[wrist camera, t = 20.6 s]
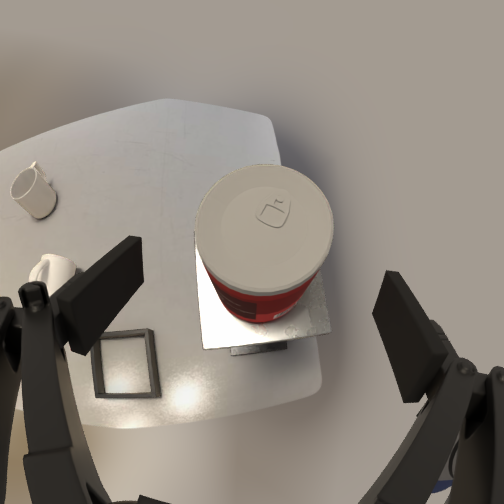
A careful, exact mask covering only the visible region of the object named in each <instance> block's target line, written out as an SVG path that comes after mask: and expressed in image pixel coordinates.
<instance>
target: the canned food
mask: <svg viewBox="0 0 504 504" xmlns="http://www.w3.org/2000/svg"><path fill="white" fill-rule="evenodd" d="M333 231H334V223H333V215H332V211H331V208H330V205H329V203H328V201H327V199H326V197H325V196H324V194H323V192H322V191H321V190H320V189H319V188H318V186H317V185H316V184H315V183H314V182H312V181H311V180H310V179H309V178H308V177H306V176H305V175H303V174H301V173H299V172H297V171H296V170H293V169H290V168H287V167H284V166H279V165H273V164H258V165H252V166H246V167H243V168H241V169H238V170H235V171H233V172H231V173H229V174H228V175H226V176H224V177H223V178H221V179H220V180H219V181H218V182H217V183H215V184H214V185H213V186H212V187H211V189H210V190H209V191H208V192H207V193H206V195H205V197H204V198H203V200H202V202H201V204H200V206H199V209H198V212H197V215H196V220H195V238H196V246H197V249H198V252H199V255H200V258H201V261H202V263H203V266H204V268H205V270H206V272H207V274H208V277H209V279H210V281H211V283H212V285H213V287H214V289H215V291H216V293H217V295H218V297H219V299H220V301H221V302H222V304H223V306H224V307H225V308H226V309H227V310H228V311H229V312H230V313H232V314H233V315H235V316H236V317H238V318H240V319H243V320H245V321H250V322H267V321H272V320H275V319H277V318H279V317H281V316H283V315H284V314H286V313H287V312H289V311H290V310H291V309H292V308H293V307H294V306H295V304H296V303H297V302H298V300H299V299H300V298H301V296H302V295H303V293H304V292H305V290H306V289H307V288H308V286H309V285H310V283H311V282H312V280H313V279H314V278H315V276H316V275H317V273H318V271H319V270H320V268H321V266H322V264H323V263H324V261H325V259H326V257H327V255H328V253H329V249H330V246H331V243H332V240H333Z"/></svg>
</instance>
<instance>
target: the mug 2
mask: <svg viewBox="0 0 504 504" xmlns="http://www.w3.org/2000/svg"><path fill="white" fill-rule="evenodd" d="M75 270H76V264H75V263H74V262H73V261H71V260H70V259H67V258H65V257H62V256H58V255H53V254H45V255H43V256H42V258H41V262H39V263H38V264H37V265H36V266H35V267H34V268H33V269H32V271H31V273H30V276H29V282H32V281H42V282H44V283H45V284H46V286H47V290H48V295H49V297H50V296H51V295H52V294H53V293H54V292H55V291H56V290H58V289H59V288H60V287H62V285H63V284H64V283H66V282H67V281H68V280H69V279H70V278H72V277H73V276H74V275H75Z"/></svg>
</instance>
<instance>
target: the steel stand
mask: <svg viewBox="0 0 504 504" xmlns="http://www.w3.org/2000/svg"><path fill="white" fill-rule="evenodd" d="M194 244H195V261H196V276H197V290H198V302H199V314H200V326H201V336H202V346H203V350H213V349H224V348H230V350H231V356H234V355H243V354H252V353H260V352H268V351H275V350H282V349H287V343H286V341H288V340H295V339H301V338H307V337H313V336H318V335H325V334H329V333H331V325H330V319H329V313H328V308H327V302H326V297H325V292H324V286H323V281H322V276H321V271H320V270H319V271H318V273H317V275H316V276H315V278H314V279H313V280H312V282H311V283H310V285H309V286H308V288H307V289H306V290H305V292H304V293H303V295H302V296H301V298H300V299H299V300H298V302H297V303H296V304H295V306H294V307H293V308H292V309H291V310H290V311H289V312H287V313H286V314H284V315H283V316H281V317H279V318H277V319H275V320H272V321H267V322H250V321H245V320H243V319H240V318H238V317H236V316H235V315H233V314H232V313H230V312H229V311H228V310H227V309H226V308H225V307H224V306H223V304H222V302H221V301H220V299H219V297H218V295H217V293H216V291H215V289H214V287H213V285H212V283H211V281H210V279H209V277H208V274H207V272H206V270H205V268H204V266H203V263H202V261H201V258H200V255H199V252H198V249H197V246H196V238H195V231H194Z"/></svg>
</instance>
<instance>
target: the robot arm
mask: <svg viewBox="0 0 504 504" xmlns="http://www.w3.org/2000/svg"><path fill="white" fill-rule="evenodd" d="M143 282H144V275H143V259H142V238H141V237H136V236H128V237H127V238H126V239H124V240H123V241H122V242H120V243H119V244H118V245H117V246H115V247H114V248H113V249H112V250H110V251H109V252H108V253H107V254H106V255H104V256H103V257H102V258H101V259H100V260H98V261H97V262H96V263H95V264H94V265H92V266H91V267H90V268H89V269H88V270H86V271H85V272H81V273H79V274H76V275H74V276H73V277H72V278H70V279H69V280H68V281H67V282H66V283H64V284H63V285H62V287H60V288H59V289H58V290H56V291H55V292H54V293H53V294H52V295H51V296H50V297H49V295H48V290H47V286H46V284H45V283H44V282H42V281H32V282H28V283H26V284H24V285H23V286H21V287H20V288H19V291H18V293H19V297H20V300H21V303H22V307H23V308H17V307H13V303H12V301H11V299H10V298H9V297H0V504H4V501H5V495H6V483H7V482H6V481H7V466H8V453H9V444H10V436H11V430H12V423H13V417H14V411H15V406H16V401H17V396H18V391H19V386H20V382H21V380H22V398H23V411H24V420H25V428H26V435H27V443H28V449H29V452H28V454H26V455H24V457H23V465H24V470H25V475H26V480H27V484H28V489H29V493H30V497H31V501H32V504H170V503H166V502H162V501H158V500H155V499H152V498H149V497H146V496H142V495H139V498H138V501H119V502H118V501H117V502H111V499H110V498H109V496H108V494H107V492H106V491H105V489H104V488H103V485H102V483H101V481H100V478H99V476H98V473H97V470H96V468H95V465H94V462H93V459H92V456H91V453H90V451H89V447H88V445H87V441H86V438H85V435H84V431H83V428H82V424H81V421H80V417H79V413H78V409H77V405H76V401H75V397H74V393H73V388H72V384H71V379H70V374H69V368H68V363H67V357H66V352H65V349H64V345H65V344H66V343H67V342H69V345H70V348H71V351H73V352H75V353H78V354H81V355H84V356H86V355H87V353H88V352H89V351H90V349H91V348H92V347H93V345H94V344H95V343H96V341H97V340H98V339H99V338H100V336H101V335H102V334H103V332H104V331H105V330H106V328H107V327H108V326H109V325H110V323H111V322H112V321H113V320H114V318H115V317H116V316H117V314H118V313H119V312H120V311H121V309H122V308H123V307H124V306H125V304H126V303H127V302H128V301H129V299H130V298H131V297H132V296H133V295H134V293H135V292H136V291H137V290H138V288H139V287H140V286H141V285H142V284H143ZM372 315H373V317H374V320H375V322H376V325H377V328H378V330H379V333H380V336H381V338H382V341H383V344H384V346H385V349H386V352H387V355H388V357H389V361H390V363H391V366H392V369H393V372H394V375H395V378H396V381H397V384H398V387H399V390H400V393H401V397H402V400H403V403H414V402H415V403H416V402H419V401H420V399H421V398H422V397H423V395H424V393H426V395H427V398H428V400H427V401H426V403H425V405H424V406H423V407H422V409H421V410H420V411H419V413H418V414H417V419H416V421H415V422H414V424H413V426H412V427H411V429H410V431H409V432H408V434H407V436H406V437H405V439H404V440H403V442H402V444H401V445H400V447H399V449H398V450H397V451H396V453H395V454H394V456H393V457H392V459H391V460H390V462H389V463H388V465H387V466H386V468H385V469H384V470H383V472H382V473H381V475H380V476H379V477H378V479H377V480H376V481H375V483H374V484H373V485H372V486H371V488H370V489H369V490H368V492H367V493H366V494H365V495H364V497H363V498H362V499H361V500H360V502H359V503H358V504H425V503H426V502H427V500H428V498H429V496H430V495H431V493H432V491H433V489H434V487H435V485H436V483H437V481H438V480H439V481H443V480H453V482H452V487H451V492H450V494H449V496H448V498H447V500H446V502H445V503H444V504H504V368H503V367H499V366H496V367H494V368H493V369H492V370H491V372H490V373H489V374H488V375H487V374H482V373H478V372H477V369H476V367H475V365H474V364H473V363H472V362H470V361H469V360H467V359H465V358H459V356H458V355H457V353H456V351H455V349H454V348H453V346H452V344H451V343H450V341H448V338H447V336H446V335H445V333H444V331H443V330H442V328H441V327H440V326H439V325H438V324H437V323H436V322H435V321H434V320H429V318H428V317H427V315H426V313H425V312H424V310H423V309H422V307H421V305H420V304H419V302H418V301H417V299H416V298H415V296H414V294H413V293H412V291H411V290H410V288H409V287H408V285H407V284H406V282H405V281H404V279H403V278H402V276H401V275H400V273H399V272H395V271H387V270H386V273H385V276H384V279H383V282H382V285H381V289H380V292H379V295H378V298H377V301H376V304H375V306H374V309H373V312H372Z"/></svg>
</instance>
